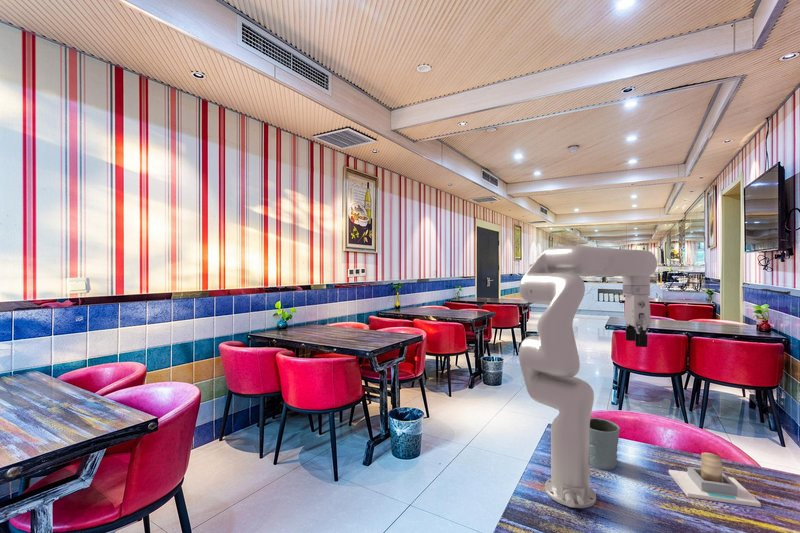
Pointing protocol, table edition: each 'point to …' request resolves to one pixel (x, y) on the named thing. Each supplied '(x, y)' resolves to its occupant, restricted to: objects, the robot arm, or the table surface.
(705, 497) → the white square-hole tray
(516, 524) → the table surface
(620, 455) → the table surface
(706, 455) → the barrel peg
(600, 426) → the grey cylindrical pot
